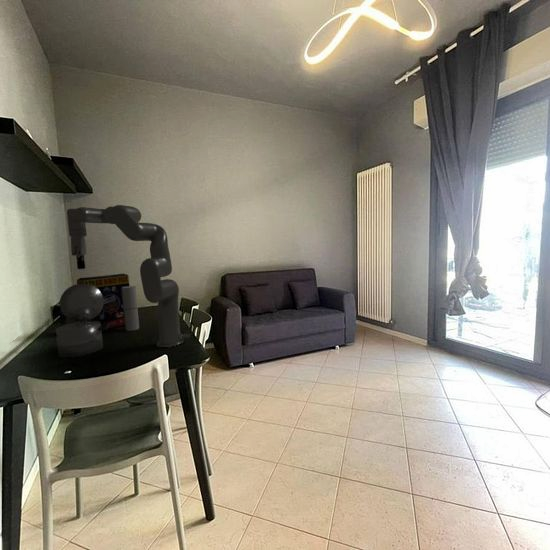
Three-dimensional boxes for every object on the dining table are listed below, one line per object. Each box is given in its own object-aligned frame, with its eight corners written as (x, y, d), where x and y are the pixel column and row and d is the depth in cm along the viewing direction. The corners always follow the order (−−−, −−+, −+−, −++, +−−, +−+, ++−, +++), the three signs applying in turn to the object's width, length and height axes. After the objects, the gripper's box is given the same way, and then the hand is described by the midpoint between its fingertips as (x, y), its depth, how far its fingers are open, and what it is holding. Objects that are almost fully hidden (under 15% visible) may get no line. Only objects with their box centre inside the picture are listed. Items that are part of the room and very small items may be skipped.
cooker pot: (112, 340, 160) (110, 317, 159) (106, 352, 142) (104, 327, 140) (58, 347, 152) (55, 324, 150) (44, 361, 134) (41, 334, 132)
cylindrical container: (134, 330, 177) (130, 287, 174) (123, 330, 178) (118, 288, 175) (141, 327, 184) (138, 286, 181) (131, 327, 185) (127, 286, 182)
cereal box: (126, 321, 201) (120, 272, 198) (135, 323, 194) (129, 272, 191) (81, 332, 180) (74, 278, 177) (89, 334, 173) (82, 278, 170)
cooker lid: (104, 318, 157) (105, 318, 160) (102, 281, 158) (103, 282, 161) (60, 323, 150) (63, 323, 153) (58, 285, 151) (60, 285, 154)
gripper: (73, 234, 163) (76, 268, 165) (65, 233, 149) (69, 270, 152) (89, 233, 166) (92, 267, 168) (82, 232, 152) (86, 269, 154)
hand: (81, 268), depth 160 cm, fingers closed
